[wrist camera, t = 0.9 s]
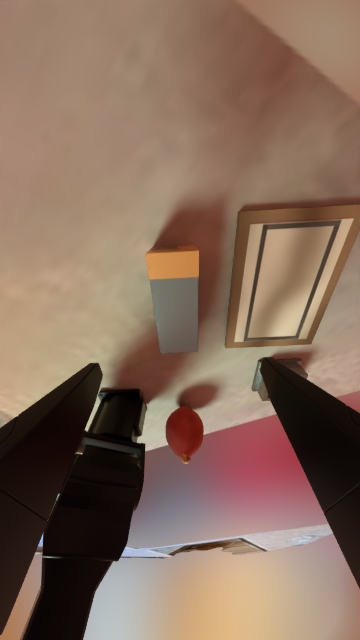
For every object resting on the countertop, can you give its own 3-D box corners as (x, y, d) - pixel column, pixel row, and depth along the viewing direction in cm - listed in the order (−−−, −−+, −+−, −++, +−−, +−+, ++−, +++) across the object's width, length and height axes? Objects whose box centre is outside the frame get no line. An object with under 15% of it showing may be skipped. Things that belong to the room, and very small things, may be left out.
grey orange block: (162, 332, 21) (159, 353, 18) (152, 247, 16) (145, 253, 13) (194, 330, 21) (198, 352, 18) (194, 245, 16) (199, 250, 13)
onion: (198, 416, 30) (205, 473, 23) (167, 416, 30) (163, 473, 23) (201, 396, 27) (210, 454, 20) (166, 395, 27) (163, 453, 20)
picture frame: (224, 345, 22) (226, 349, 22) (238, 212, 15) (241, 211, 14) (307, 341, 22) (312, 345, 21) (363, 204, 15) (372, 203, 14)
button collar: (251, 388, 27) (258, 403, 24) (258, 360, 24) (266, 374, 21) (289, 387, 27) (299, 401, 24) (300, 358, 24) (313, 372, 21)
